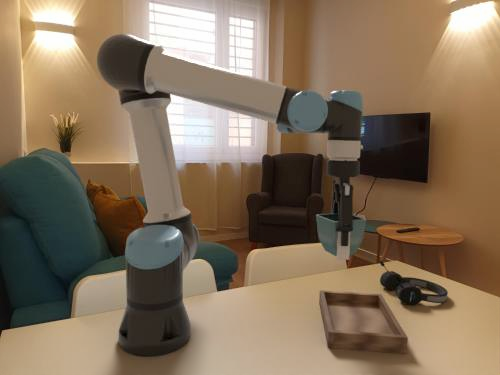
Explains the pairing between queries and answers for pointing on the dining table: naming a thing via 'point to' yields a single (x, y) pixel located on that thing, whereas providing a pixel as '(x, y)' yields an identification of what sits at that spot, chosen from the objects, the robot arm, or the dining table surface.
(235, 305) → the dining table surface
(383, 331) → the holder tray
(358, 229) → the flower pot
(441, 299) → the headset
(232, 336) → the dining table surface
